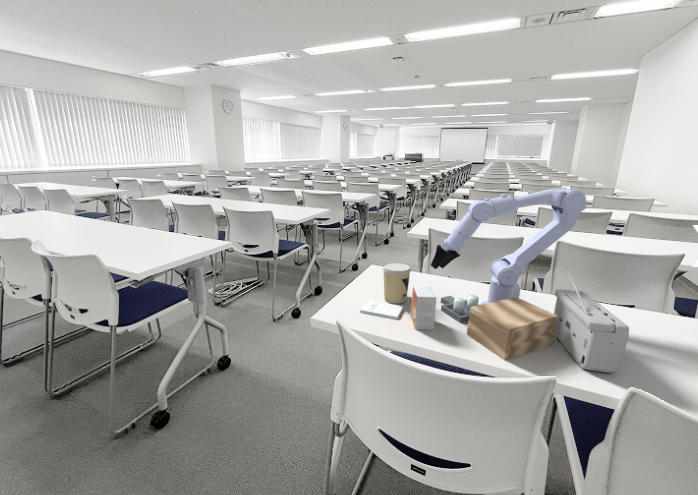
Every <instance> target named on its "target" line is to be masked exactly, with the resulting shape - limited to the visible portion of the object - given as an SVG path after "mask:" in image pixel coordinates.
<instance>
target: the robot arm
mask: <svg viewBox="0 0 698 495" xmlns="http://www.w3.org/2000/svg"><path fill="white" fill-rule="evenodd" d="M542 204H543V205H544V204H546V205H550V206H551V209H552V217H553V219H552V221H550V222H549V223H548V224H546V225H545V226H544V227H543V228H541V230H540V231H538V232H537V233H536V234H534V235H533V236H532V237H531V238H530V239H528V240H527V241H526V242H525V243H524V244H522V245H521V246H520V247H519V248H518V249H516V250H515V251H514V252H513V253H510V254H506V255H504V256H502V257H501V258H499V259H498V258H497V259H495V260H494V261H493V262H491V264H490V273H491V274H492V276H491V278H490V283H489V290H488V297H487V298H488V299H487V300H486V301H482V302H481V305H482V304H487V303H491V302H495V301H500V300H504V299H509V298H513V297H517V298H520V294H521V287H520V285H519V283H518V280H519V278H520V277H521V276H522V275H523V274H524V272H525V269H526V268H525V267H526V266H527V265H529V263H530V262H532V261H533V260H534V259H536V258H537V257H538V256H540V255H541V254H542V253H544V252H545V250H547V249H549V247H551V246H552V245H553V244H555V243H556V242H557V241H558V240H560V239H561V238H562V237H563V236H564V235H565V234H567V233H568V232H569V231H571V230H572V229H573V228H574V227H575V225H576V223H577V222H578V219H579V217H580V216H581V214H582V212H583V211H585V210H586V209H587V197H586V195H585V193H584V192H582V191H581V190H576V189H575V190H574V189H570V188H567V187H563V186H562V187H557V188H549V189H545V190H544V189H543V190H541V191H537V192H533V193H529V194H525V195H520V196H517V197H514V196H513V195H511V194H508V195H507V194H506V193H503V194H500V196H498V197H493V198H490V199H489V197H487V198H484V201H482V200H475V201H473V202H472V203H469V204H468V208H467V212H466V213H465V214H464V216H462V218H461V220H460V221H459V222H458V223H457V225H456V226H455V227H454V229H453V230H452V232H451V233H450V234H449V236H447V238H446V237H442V239H441V240H442V241H443V244H442V245H440V244H437V245H436V250H435V254H434V257H433V259H432V260H431V263H430V266H431V267H432V268H433V269H434V270H437V269H438V268H441V269H444V268H446V267H447V265H449V264H450V263H451V262H452V261H454V260H455V259H457V258H459V257H460V256H461V254H460V253H461V252H462V250H463V248H464V247H465V246H466V244H467V243H468V242H469V241H470V239H471V238H472V237H473V235H474V234H475V233H476V231H477V230H478V228H479V227H480V225H482V223H483V222H486V221H488V220H489V219H491V218H495V217H500V216H505V215H509V214H514V212H516V210H517V209H520V208H526V207H530V206H531V207H533V206H537V205H542Z"/></svg>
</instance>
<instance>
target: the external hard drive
mask: <svg viewBox="0 0 698 495" xmlns="http://www.w3.org/2000/svg"><path fill="white" fill-rule="evenodd" d="M403 310H404V305H403V306H402V305H400V304H399V305H398V304H394V303H388V302H381V301H375V300H370V299H368V300H367V301H365V302H364V304H363V305H362V307H361V308H360V310H359V313H362V314H366V315H372V316H378V317H382V318H387V319H393V320H399V318H400V316H401V315H402V312H403Z"/></svg>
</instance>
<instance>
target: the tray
mask: <svg viewBox="0 0 698 495" xmlns="http://www.w3.org/2000/svg"><path fill="white" fill-rule="evenodd" d="M479 298H480V297H479V296H478V295H477V296H476V295H473V294H469V295H467V299H464V298H461V297H453V296H451V295H447V296H442V297H440V303H441V304H442V305H441V304H440V311H441V312H442V313H444V314H445V315H447V316H448V317H450V318H452V320H455V321H456V322H458V323H459V324H461V323H467V322H468V321H469V313H470V307H473V306H478V305H480V304H479Z"/></svg>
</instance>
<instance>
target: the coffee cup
mask: <svg viewBox="0 0 698 495" xmlns="http://www.w3.org/2000/svg"><path fill="white" fill-rule="evenodd" d="M382 271H383V296H384V301H386V303H388V304H393V305H398V304H399V305H400V304H404V303H405V302H406V301H407V298H408V291H409V283H410V282H409V281H410V276H411V268H410V266H409V265H408V264H406V263H400V262H399V263H398V262H390V263H389V262H388V263H387V264H384V266H383V268H382Z"/></svg>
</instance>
